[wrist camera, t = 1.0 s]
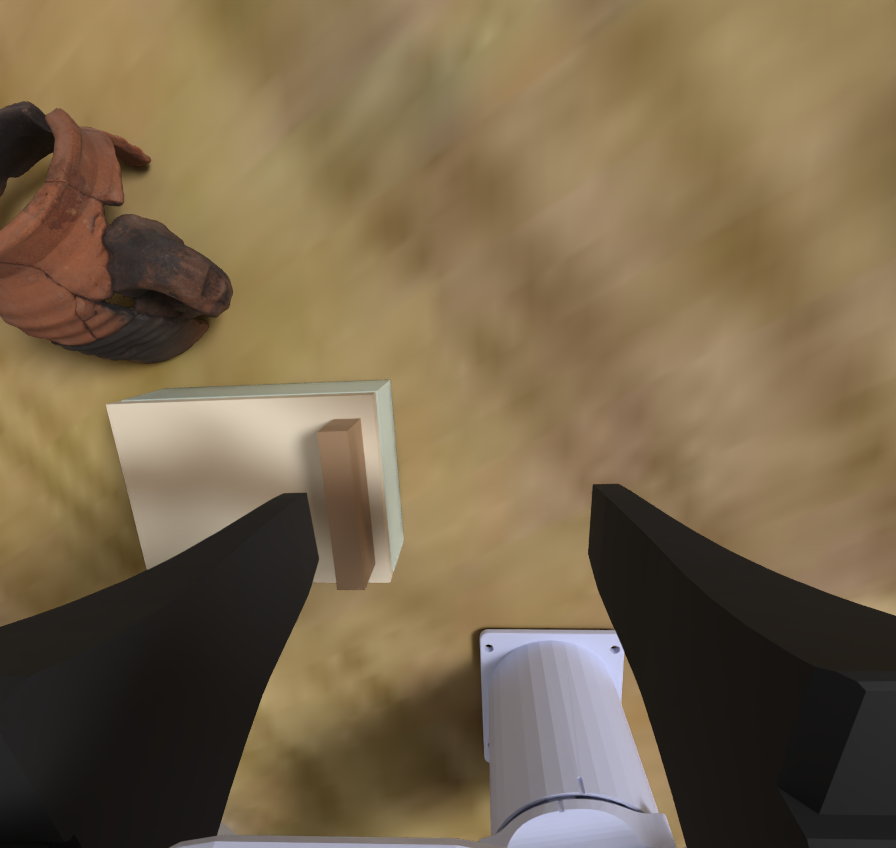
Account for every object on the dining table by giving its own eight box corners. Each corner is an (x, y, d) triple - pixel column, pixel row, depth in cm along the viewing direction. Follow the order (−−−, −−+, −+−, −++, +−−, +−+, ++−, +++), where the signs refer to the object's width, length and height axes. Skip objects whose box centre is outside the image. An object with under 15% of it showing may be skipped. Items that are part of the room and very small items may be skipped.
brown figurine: (72, 361, 25) (-153, 277, 17) (141, 211, 26) (-33, 71, 18) (255, 406, 21) (80, 326, 13) (320, 230, 23) (199, 69, 15)
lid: (392, 575, 22) (380, 610, 19) (158, 575, 23) (118, 609, 20) (375, 392, 20) (359, 405, 17) (116, 401, 21) (66, 415, 18)
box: (403, 540, 25) (393, 571, 22) (197, 542, 26) (162, 572, 23) (390, 379, 23) (377, 390, 20) (165, 388, 24) (121, 400, 21)
